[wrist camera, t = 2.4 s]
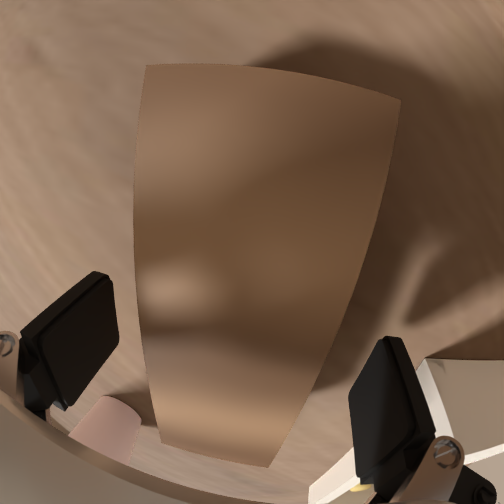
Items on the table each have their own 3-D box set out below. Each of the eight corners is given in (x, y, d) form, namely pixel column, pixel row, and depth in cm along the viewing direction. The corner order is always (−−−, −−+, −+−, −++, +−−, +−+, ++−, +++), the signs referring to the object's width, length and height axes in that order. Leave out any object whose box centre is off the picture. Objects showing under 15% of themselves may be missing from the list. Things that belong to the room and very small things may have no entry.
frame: (424, 358, 11) (459, 456, 6) (518, 360, 11) (552, 421, 5) (309, 486, 19) (305, 536, 14) (390, 483, 19) (394, 528, 13)
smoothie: (163, 413, 16) (94, 580, 3) (152, 441, 19) (100, 567, 6) (84, 370, 16) (-9, 514, 3) (87, 407, 19) (22, 521, 6)
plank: (208, 91, 9) (146, 65, 4) (353, 114, 8) (401, 100, 4) (188, 378, 14) (161, 442, 10) (277, 397, 14) (268, 467, 10)
